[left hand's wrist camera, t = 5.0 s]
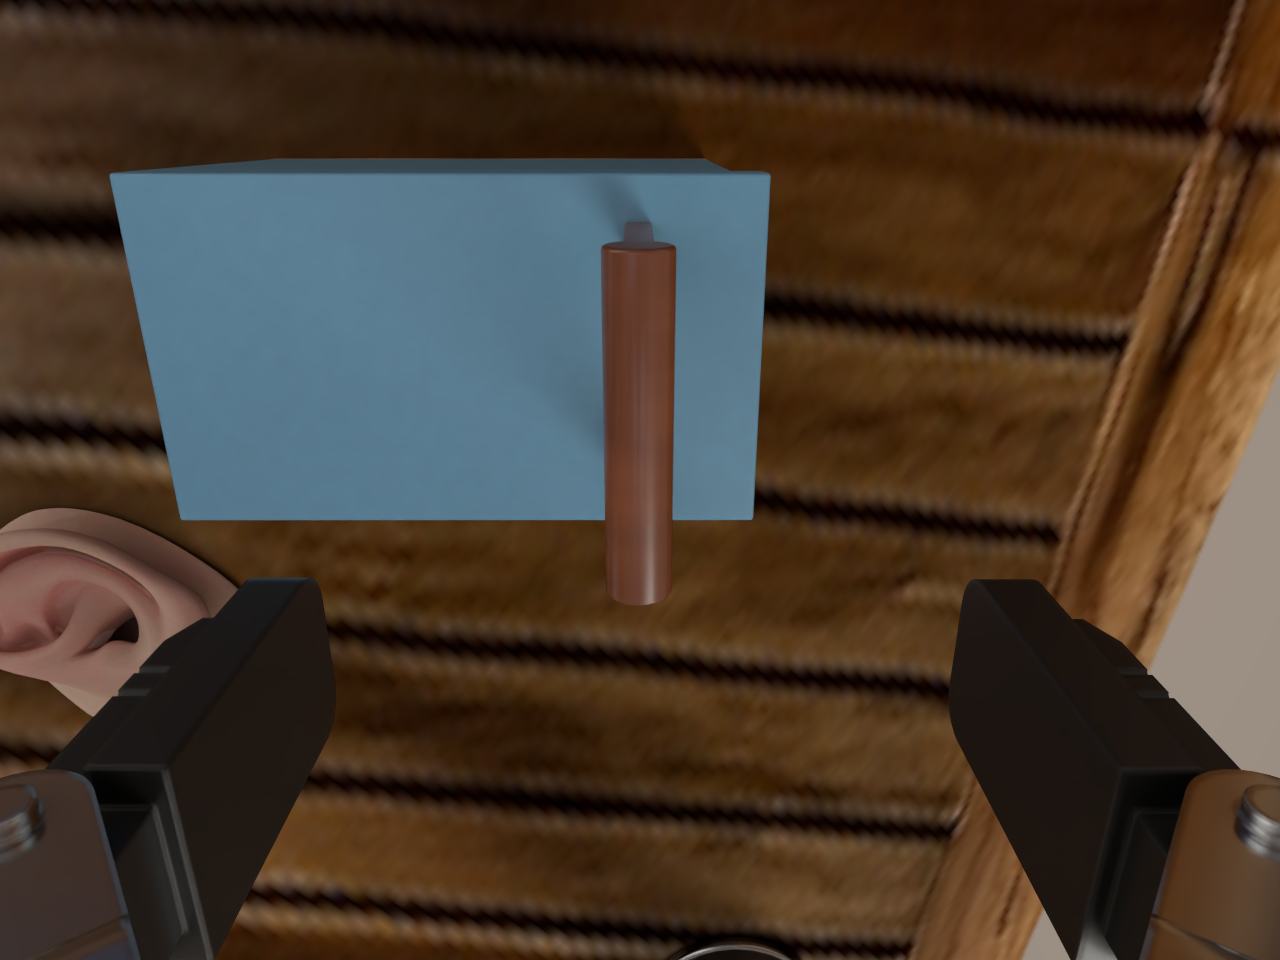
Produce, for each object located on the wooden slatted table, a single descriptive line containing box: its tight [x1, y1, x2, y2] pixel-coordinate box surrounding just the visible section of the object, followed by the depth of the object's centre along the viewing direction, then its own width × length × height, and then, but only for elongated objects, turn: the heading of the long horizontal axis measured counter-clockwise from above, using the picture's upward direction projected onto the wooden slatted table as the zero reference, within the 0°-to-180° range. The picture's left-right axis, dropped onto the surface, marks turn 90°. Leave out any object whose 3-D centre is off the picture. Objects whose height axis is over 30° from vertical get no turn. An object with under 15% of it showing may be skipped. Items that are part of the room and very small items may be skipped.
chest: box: [140, 158, 729, 171], centre depth 31 cm, size 16×10×11 cm, turn 90°
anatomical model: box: [0, 508, 238, 717], centre depth 39 cm, size 13×4×12 cm
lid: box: [110, 171, 771, 606], centre depth 22 cm, size 17×10×8 cm, turn 90°
